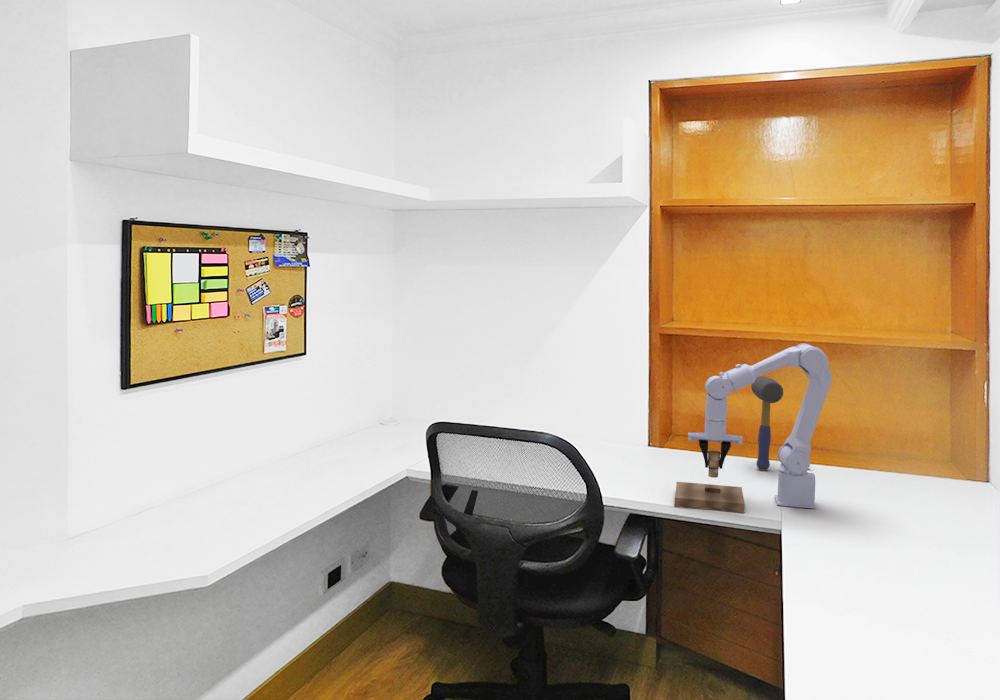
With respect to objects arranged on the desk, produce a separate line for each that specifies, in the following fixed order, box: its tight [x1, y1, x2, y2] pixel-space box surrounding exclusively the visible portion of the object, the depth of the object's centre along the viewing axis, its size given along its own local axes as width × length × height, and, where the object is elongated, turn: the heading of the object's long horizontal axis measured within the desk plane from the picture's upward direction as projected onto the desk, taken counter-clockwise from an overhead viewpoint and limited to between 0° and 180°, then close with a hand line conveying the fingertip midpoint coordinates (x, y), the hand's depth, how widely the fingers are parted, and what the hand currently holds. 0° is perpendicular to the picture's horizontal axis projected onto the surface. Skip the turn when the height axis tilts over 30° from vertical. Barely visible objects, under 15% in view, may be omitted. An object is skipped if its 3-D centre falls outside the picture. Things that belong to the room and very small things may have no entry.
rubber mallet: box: [750, 375, 784, 471], centre depth 230 cm, size 12×8×30 cm, turn 176°
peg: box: [708, 449, 721, 479], centre depth 201 cm, size 3×3×7 cm
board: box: [674, 481, 745, 514], centre depth 200 cm, size 18×15×2 cm
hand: (713, 467), depth 201 cm, fingers closed on peg, 3 cm apart
